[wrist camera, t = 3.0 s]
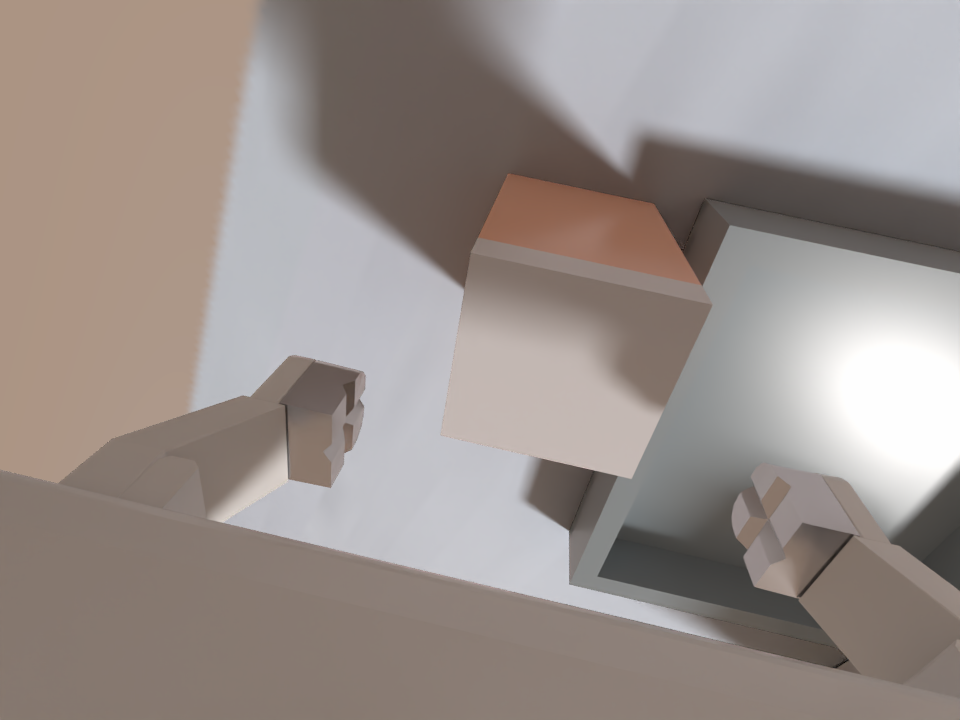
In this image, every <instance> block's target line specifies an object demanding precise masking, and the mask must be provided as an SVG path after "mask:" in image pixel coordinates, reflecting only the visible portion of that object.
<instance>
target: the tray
mask: <svg viewBox="0 0 960 720" xmlns="http://www.w3.org/2000/svg"><path fill="white" fill-rule="evenodd" d="M683 254H684V256H685V258H686V259H687V261H688V263H689V265H690V266H691V268H692V270H693V271H694V273H695V275H696V277H697V278H698V280H699V282H700V284H701V285H702V287H703V289H704V290H705V292H706V294H707V296H708V297H709V299H710V301H711V302H712V304H713V306H712V308H711V310H710V312H709V314H708V316H707V319H706V321H705V323H704V325H703V327H702V329H701V331H700V334H699V336H698V338H697V340H696V342H695V344H694V346H693V349H692V351H691V353H690V355H689V357H688V359H687V361H686V364H685V366H684V368H683V370H682V372H681V374H680V376H679V378H678V381H677V383H676V385H675V387H674V389H673V391H672V393H671V396H670V398H669V400H668V402H667V404H666V406H665V408H664V411H663V413H662V415H661V417H660V419H659V421H658V423H657V426H656V428H655V430H654V432H653V434H652V436H651V438H650V441H649V443H648V445H647V447H646V449H645V451H644V453H643V455H642V458H641V460H640V462H639V464H638V466H637V468H636V470H635V473H634V475H633V477H632V479H629V478H625V477H621V476H616V475H612V474H607V473H603V472H599V471H594V472H593V474H592V477H591V479H590V482H589V484H588V487H587V489H586V492H585V494H584V496H583V499H582V501H581V504H580V506H579V509H578V511H577V514H576V516H575V519H574V521H573V523H572V526H571V528H570V531H569V584H570V585H574V586H578V587H583V588H587V589H591V590H595V591H600V592H604V593H608V594H612V595H616V596H621V597H625V598H629V599H633V600H638V601H642V602H646V603H650V604H654V605H659V606H663V607H667V608H671V609H675V610H680V611H684V612H688V613H692V614H697V615H701V616H705V617H709V618H713V619H718V620H722V621H726V622H730V623H734V624H739V625H743V626H747V627H751V628H756V629H760V630H764V631H768V632H772V633H777V634H781V635H785V636H789V637H793V638H798V639H802V640H806V641H810V642H815V643H819V644H823V645H827V646H831V647H836V648H838V646H837V645H836V644H835V643H834V642H833V641H832V639H831V638H830V637H829V636H828V635H827V634H826V632H825V631H824V630H823V629H822V628H821V627H820V625H819V624H818V623H817V622H816V621H815V620H814V618H813V617H812V616H811V615H810V614H809V612H808V611H807V610H806V609H805V608H804V607H803V605H802V604H801V603H800V602H799V601H798V600H799V598H795V597H791V596H787V595H783V594H779V593H776V592H772V591H768V590H764V589H760V588H757V587H754V585H753V583H752V580H751V577H750V575H749V572H748V569H747V567H746V564H745V561H744V558H743V556H744V554H745V553H746V551H747V549H746V548H745V547H744V546H743V545H742V544H741V543H740V542H739V541H738V540H737V539H736V536H735V533H734V531H733V528H732V518H731V517H732V511H733V506H734V503H735V501H736V499H737V498H738V496H739V494H740V492H742V491H744V490H746V489H748V488H750V487H752V486H753V484H752V480H751V475H752V473H753V472H754V470H755V469H756V467H757V466H759V465H760V464H762V463H763V462H764V463H769V464H774V465H778V466H783V467H788V468H792V469H797V470H802V471H806V472H811V473H819V474H824V475H829V476H834V477H840V478H842V479H844V480H845V481H847V482H848V483H849V484H850V485H851V486H852V488H853V489H854V491H855V492H856V494H857V495H858V497H859V498H860V499H861V501H862V502H863V504H864V505H865V507H866V508H867V510H868V511H869V513H870V514H871V515H872V517H873V518H874V520H875V521H876V523H877V524H878V526H879V527H880V529H881V530H882V531H883V533H884V534H885V536H886V537H887V539H888V540H889V542H890V543H891V544H893V545H897V546H900V547H902V548H903V549H904V550H906V551H907V552H908V553H910V554H911V555H912V556H914V557H915V558H916V559H918V560H919V561H920V562H922V563H923V564H924V565H926V566H927V567H928V568H930V569H931V570H932V571H934V572H935V573H936V574H938V575H939V576H940V577H942V578H943V579H944V580H946V581H947V582H949V583H950V584H951V585H953V586H954V587H955V588H957V589H958V590H959V591H960V252H958V251H954V250H949V249H944V248H939V247H934V246H930V245H925V244H920V243H915V242H911V241H906V240H901V239H896V238H891V237H887V236H882V235H877V234H872V233H868V232H863V231H858V230H853V229H848V228H844V227H839V226H834V225H829V224H824V223H820V222H815V221H810V220H805V219H801V218H796V217H791V216H786V215H781V214H777V213H772V212H767V211H762V210H758V209H753V208H748V207H743V206H738V205H734V204H729V203H724V202H719V201H715V200H710V199H704V202H703V204H702V206H701V209H700V211H699V214H698V216H697V219H696V221H695V224H694V226H693V229H692V231H691V233H690V236H689V238H688V241H687V243H686V246H685V248H684V251H683Z"/></svg>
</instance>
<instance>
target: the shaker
mask: <svg viewBox="0 0 960 720" xmlns="http://www.w3.org/2000/svg"><path fill="white" fill-rule="evenodd" d="M712 306H713V304H712V302H711V301H710V299H709V297H708V296H707V294H706V292H705V290H704V289H703V287H702V285H701V284H700V282H699V280H698V278H697V277H696V275H695V273H694V271H693V270H692V268H691V266H690V265H689V263H688V261H687V259H686V258H685V256H684V254H683V253H682V251H681V249H680V247H679V246H678V244H677V242H676V241H675V239H674V237H673V235H672V234H671V232H670V230H669V229H668V227H667V225H666V223H665V222H664V220H663V218H662V217H661V215H660V213H659V211H658V210H657V208H656V206H655V205H654V204H653V203H649V202H644V201H639V200H634V199H629V198H625V197H620V196H615V195H610V194H606V193H601V192H596V191H591V190H586V189H582V188H577V187H572V186H567V185H563V184H558V183H553V182H548V181H543V180H539V179H534V178H529V177H524V176H520V175H515V174H510V173H508V175H507V177H506V179H505V181H504V183H503V185H502V187H501V190H500V192H499V194H498V196H497V198H496V200H495V202H494V204H493V206H492V209H491V211H490V213H489V215H488V217H487V219H486V221H485V223H484V225H483V228H482V230H481V232H480V234H479V236H478V238H477V240H476V242H475V244H474V247H473V249H472V251H471V253H470V259H469V266H468V272H467V278H466V284H465V290H464V296H463V302H462V308H461V314H460V320H459V326H458V332H457V338H456V344H455V350H454V356H453V362H452V368H451V374H450V380H449V386H448V393H447V399H446V405H445V411H444V417H443V423H442V429H441V436H445V437H450V438H454V439H458V440H463V441H467V442H472V443H476V444H480V445H485V446H489V447H493V448H498V449H502V450H507V451H511V452H515V453H520V454H524V455H529V456H533V457H537V458H542V459H546V460H550V461H555V462H559V463H564V464H568V465H572V466H577V467H581V468H586V469H590V470H594V471H599V472H603V473H607V474H612V475H616V476H621V477H625V478H629V479H632V477H633V475H634V473H635V470H636V468H637V466H638V464H639V462H640V460H641V458H642V455H643V453H644V451H645V449H646V447H647V445H648V443H649V441H650V438H651V436H652V434H653V432H654V430H655V428H656V426H657V423H658V421H659V419H660V417H661V415H662V413H663V411H664V408H665V406H666V404H667V402H668V400H669V398H670V396H671V393H672V391H673V389H674V387H675V385H676V383H677V381H678V378H679V376H680V374H681V372H682V370H683V368H684V366H685V364H686V361H687V359H688V357H689V355H690V353H691V351H692V349H693V346H694V344H695V342H696V340H697V338H698V336H699V334H700V331H701V329H702V327H703V325H704V323H705V321H706V319H707V316H708V314H709V312H710V310H711V308H712Z"/></svg>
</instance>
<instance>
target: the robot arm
mask: <svg viewBox="0 0 960 720" xmlns="http://www.w3.org/2000/svg"><path fill="white" fill-rule="evenodd" d="M365 378H366V376H365V374H364V372H363V371H359V370H355V369H351V368H347V367H343V366H339V365H335V364H331V363H327V362H323V361H319V360H317V361H316V360H315V359H310V358H306V357H302V356H297V355H292V356H289V357H288V358H287V359H286V360H285V361H284V362H283V363H282V364H281V365H280V366H279V367H278V368H277V369H276V370H275V371H274V372H273V374H272V375H271V376H270V377H269V378H268V379H267V380H266V381H265V382H264V383H263V384H262V385H261V386H260V387H259V388H258V389H257V390H256V391H255V393H254V394H253V395H252V396H251V397H247V396H240V397H237V398H234V399H231V400H228V401H225V402H222V403H219V404H216V405H213V406H210V407H207V408H204V409H201V410H198V411H195V412H192V413H189V414H186V415H183V416H180V417H177V418H174V419H171V420H168V421H165V422H162V423H159V424H156V425H153V426H150V427H147V428H144V429H141V430H138V431H134V432H132V433H129V434H125V435H123V436H119V437H116V438H113V439H111V440H110V441H109V442H107V443H106V444H105V445H104V446H103V447H101V448H100V449H99V450H98V451H97V452H96V453H94V454H93V455H92V456H91V457H90V458H88V459H87V460H86V461H85V462H83V463H82V464H81V465H80V466H78V467H77V468H76V469H75V470H74V471H72V472H71V473H70V474H69V475H68V476H66V477H65V478H64V479H63V480H62V481H60V482H59V483H54V482H49V481H45V480H41V479H37V478H32V477H28V476H24V475H20V474H16V473H11V472H7V471H3V470H0V720H960V591H959V590H958V589H957V588H955V587H954V586H953V585H951V584H950V583H949V582H947V581H946V580H944V579H943V578H942V577H940V576H939V575H938V574H936V573H935V572H934V571H932V570H931V569H930V568H928V567H927V566H926V565H924V564H923V563H922V562H920V561H919V560H918V559H916V558H915V557H914V556H912V555H911V554H910V553H908V552H907V551H906V550H904V549H903V548H902V547H900V546H897V545H893V544H891V543H890V542H889V540H888V539H887V537H886V536H885V534H884V533H883V531H882V530H881V529H880V527H879V526H878V524H877V523H876V521H875V520H874V518H873V517H872V515H871V514H870V513H869V511H868V510H867V508H866V507H865V505H864V504H863V502H862V501H861V499H860V498H859V497H858V495H857V494H856V492H855V491H854V489H853V488H852V486H851V485H850V484H849V483H848V482H847V481H845V480H844V479H842V478H840V477H834V476H829V475H824V474H819V473H811V472H806V471H802V470H797V469H792V468H788V467H783V466H778V465H774V464H769V463H764V462H763V463H762V464H760V465H759V466H757V467H756V469H755V470H754V472H753V473H752V475H751V480H752V484H753V486H752V487H750V488H748V489H746V490H744V491H742V492H740V494H739V496H738V498H737V499H736V501H735V503H734V506H733V511H732V517H731V518H732V528H733V531H734V533H735V536H736V539H737V540H738V541H739V542H740V543H741V544H742V545H743V546H744V547H745V548H746V549H747V551H746V553H745V554H744V556H743V558H744V561H745V564H746V567H747V569H748V572H749V575H750V577H751V580H752V583H753V585H754V587H757V588H760V589H764V590H768V591H772V592H776V593H779V594H783V595H787V596H791V597H795V598H799V600H798V601H799V602H800V603H801V604H802V605H803V607H804V608H805V609H806V610H807V611H808V612H809V614H810V615H811V616H812V617H813V618H814V620H815V621H816V622H817V623H818V624H819V625H820V627H821V628H822V629H823V630H824V631H825V632H826V634H827V635H828V636H829V637H830V638H831V639H832V641H833V642H834V643H835V644H836V645H837V646H838V648H839V649H840V650H841V651H842V652H843V654H844V655H845V656H846V657H847V658H848V659H849V661H850V662H851V663H852V664H853V665H854V666H855V668H856V669H857V670H858V671H859V672H860V673H861V675H860V674H856V673H852V672H848V671H843V670H839V669H835V668H831V667H826V666H822V665H818V664H814V663H809V662H805V661H801V660H797V659H793V658H788V657H784V656H780V655H776V654H772V653H768V652H763V651H759V650H755V649H751V648H747V647H743V646H738V645H734V644H730V643H726V642H722V641H717V640H713V639H709V638H705V637H701V636H697V635H692V634H688V633H684V632H680V631H676V630H672V629H667V628H663V627H659V626H655V625H651V624H647V623H642V622H638V621H634V620H630V619H626V618H621V617H617V616H613V615H609V614H604V613H600V612H596V611H592V610H588V609H583V608H579V607H575V606H571V605H567V604H562V603H558V602H554V601H550V600H545V599H541V598H537V597H533V596H529V595H524V594H520V593H516V592H512V591H507V590H503V589H499V588H495V587H491V586H486V585H482V584H478V583H474V582H470V581H465V580H461V579H457V578H453V577H448V576H444V575H440V574H436V573H432V572H427V571H423V570H419V569H415V568H411V567H406V566H402V565H398V564H394V563H390V562H385V561H381V560H377V559H373V558H369V557H364V556H360V555H356V554H352V553H348V552H343V551H339V550H335V549H331V548H327V547H322V546H318V545H314V544H310V543H306V542H301V541H297V540H293V539H289V538H284V537H280V536H276V535H272V534H268V533H263V532H259V531H255V530H251V529H247V528H242V527H238V526H234V525H230V524H226V523H222V522H224V521H226V520H227V519H229V518H230V517H232V516H234V515H235V514H237V513H238V512H240V511H242V510H243V509H245V508H246V507H248V506H250V505H251V504H253V503H254V502H256V501H258V500H259V499H261V498H262V497H264V496H266V495H267V494H269V493H270V492H272V491H274V490H275V489H277V488H279V487H280V486H282V485H283V484H285V483H287V482H288V479H290V480H295V481H300V482H305V483H310V484H315V485H319V486H324V487H329V488H331V487H332V485H333V483H334V481H335V479H336V478H337V476H338V474H339V472H340V470H341V469H342V467H343V465H344V453H346V452H348V451H350V450H352V448H353V447H354V445H355V443H356V441H357V438H358V435H359V432H360V429H361V426H362V421H363V415H364V405H363V404H362V402H361V401H360V397H361V395H362V394H363V392H364V390H365Z"/></svg>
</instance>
